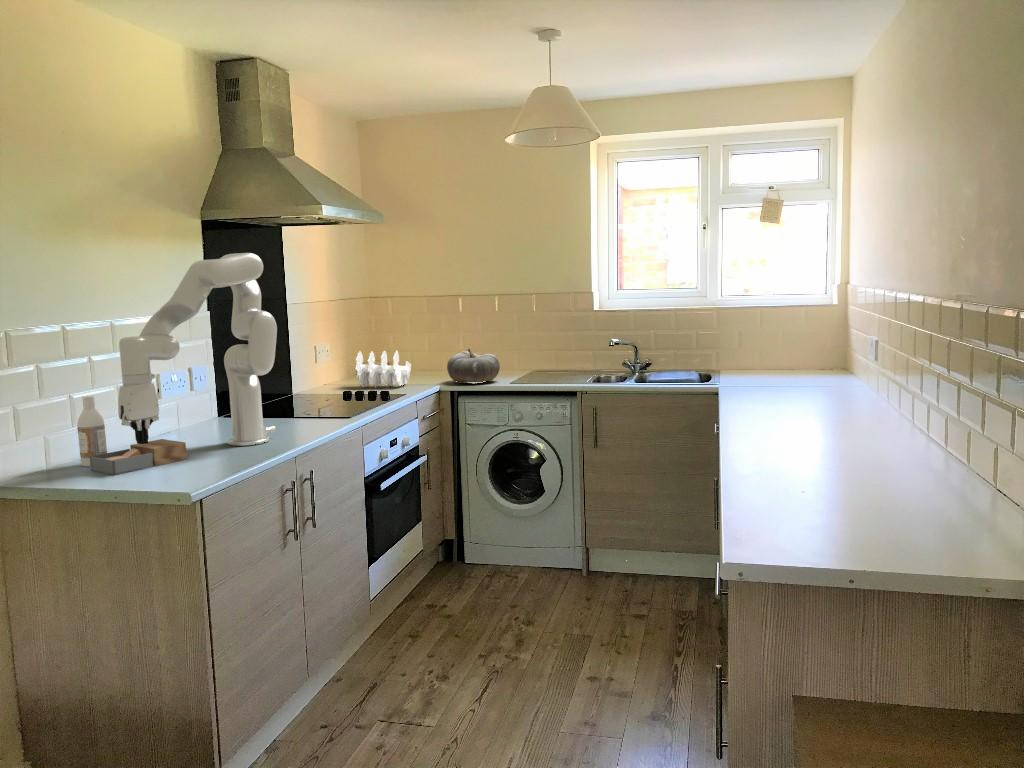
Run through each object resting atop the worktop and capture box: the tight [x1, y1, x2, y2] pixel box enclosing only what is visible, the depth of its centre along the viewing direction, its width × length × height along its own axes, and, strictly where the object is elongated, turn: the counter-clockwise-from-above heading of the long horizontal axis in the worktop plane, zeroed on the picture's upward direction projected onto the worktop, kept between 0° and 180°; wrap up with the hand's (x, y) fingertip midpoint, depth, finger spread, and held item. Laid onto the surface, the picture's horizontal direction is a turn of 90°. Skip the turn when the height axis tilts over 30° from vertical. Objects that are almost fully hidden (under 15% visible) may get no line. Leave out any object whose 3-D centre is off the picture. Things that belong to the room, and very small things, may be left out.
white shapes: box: [354, 349, 412, 389], centre depth 383 cm, size 18×18×25 cm
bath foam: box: [76, 395, 108, 468], centre depth 232 cm, size 7×7×20 cm
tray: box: [90, 448, 155, 476], centre depth 226 cm, size 12×12×4 cm
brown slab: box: [129, 438, 188, 467], centre depth 235 cm, size 10×12×5 cm
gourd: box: [446, 348, 501, 383], centre depth 390 cm, size 25×25×17 cm
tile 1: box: [122, 448, 141, 458], centre depth 228 cm, size 4×4×3 cm
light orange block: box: [105, 456, 126, 460], centre depth 225 cm, size 4×4×3 cm
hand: (142, 443), depth 231 cm, fingers closed
